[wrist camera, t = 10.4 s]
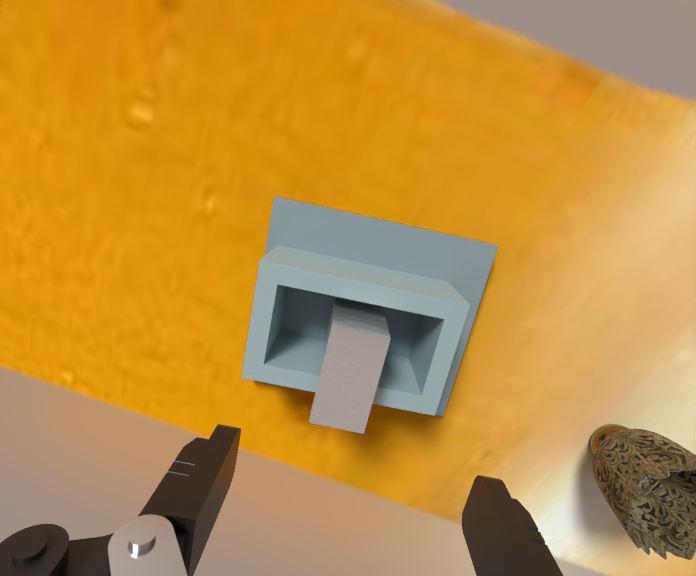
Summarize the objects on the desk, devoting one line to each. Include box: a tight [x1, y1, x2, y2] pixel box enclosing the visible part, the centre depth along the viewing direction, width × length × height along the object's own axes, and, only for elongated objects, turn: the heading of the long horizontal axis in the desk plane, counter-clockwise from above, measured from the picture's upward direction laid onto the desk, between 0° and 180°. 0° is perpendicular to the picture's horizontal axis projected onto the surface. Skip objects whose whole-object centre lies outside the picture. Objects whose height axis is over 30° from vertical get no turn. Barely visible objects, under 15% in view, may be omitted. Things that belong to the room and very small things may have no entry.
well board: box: [241, 197, 498, 416], centre depth 26 cm, size 16×14×7 cm
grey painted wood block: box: [309, 296, 391, 434], centre depth 25 cm, size 3×6×8 cm, turn 167°
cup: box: [590, 424, 696, 560], centre depth 29 cm, size 8×7×8 cm
